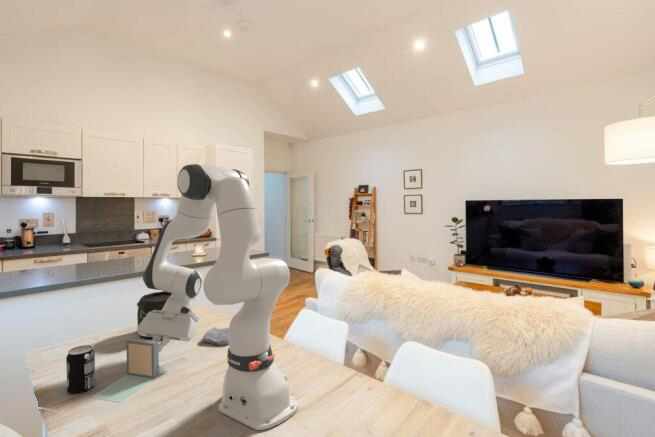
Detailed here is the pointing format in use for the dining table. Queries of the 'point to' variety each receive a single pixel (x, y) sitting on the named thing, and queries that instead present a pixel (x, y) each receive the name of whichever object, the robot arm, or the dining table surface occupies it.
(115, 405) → the dining table surface
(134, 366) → the slate tile
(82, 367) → the beverage can
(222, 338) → the stone block
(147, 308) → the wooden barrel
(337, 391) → the dining table surface
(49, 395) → the dining table surface
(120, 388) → the mat
